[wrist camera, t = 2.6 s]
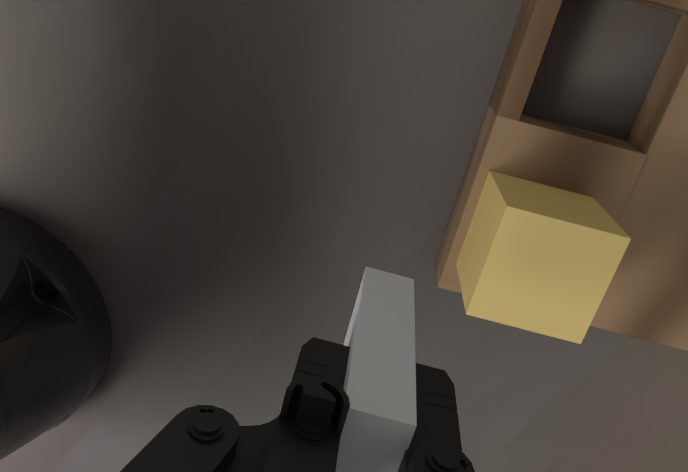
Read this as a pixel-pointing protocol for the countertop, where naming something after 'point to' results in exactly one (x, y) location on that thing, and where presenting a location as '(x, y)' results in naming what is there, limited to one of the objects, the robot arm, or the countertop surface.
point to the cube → (538, 257)
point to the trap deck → (597, 177)
